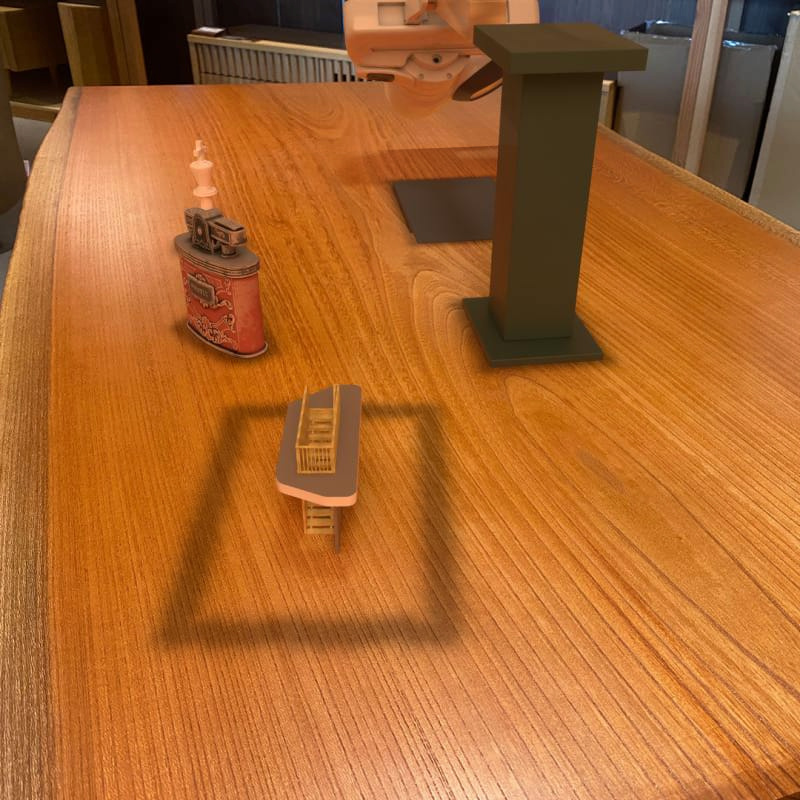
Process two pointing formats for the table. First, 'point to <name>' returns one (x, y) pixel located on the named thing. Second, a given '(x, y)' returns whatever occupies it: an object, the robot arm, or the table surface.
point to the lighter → (221, 284)
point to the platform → (322, 455)
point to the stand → (543, 186)
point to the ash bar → (471, 14)
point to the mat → (448, 208)
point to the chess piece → (203, 176)
